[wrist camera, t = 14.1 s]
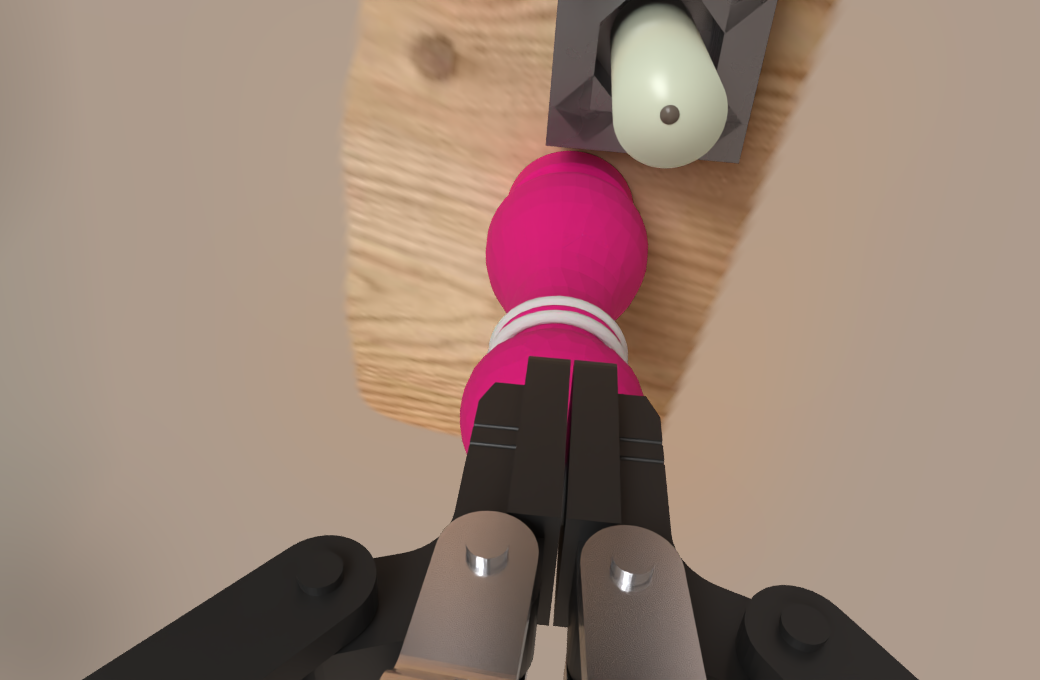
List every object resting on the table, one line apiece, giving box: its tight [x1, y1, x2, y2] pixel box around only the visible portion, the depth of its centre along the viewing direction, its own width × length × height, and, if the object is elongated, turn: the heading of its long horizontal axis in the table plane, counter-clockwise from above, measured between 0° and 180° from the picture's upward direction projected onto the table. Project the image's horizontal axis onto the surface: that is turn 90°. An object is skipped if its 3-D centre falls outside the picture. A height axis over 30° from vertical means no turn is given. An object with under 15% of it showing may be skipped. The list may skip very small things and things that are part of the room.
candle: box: [610, 0, 728, 168], centre depth 28 cm, size 4×4×10 cm
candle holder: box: [546, 0, 777, 163], centre depth 31 cm, size 8×8×4 cm
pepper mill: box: [460, 151, 648, 453], centre depth 29 cm, size 7×7×20 cm
